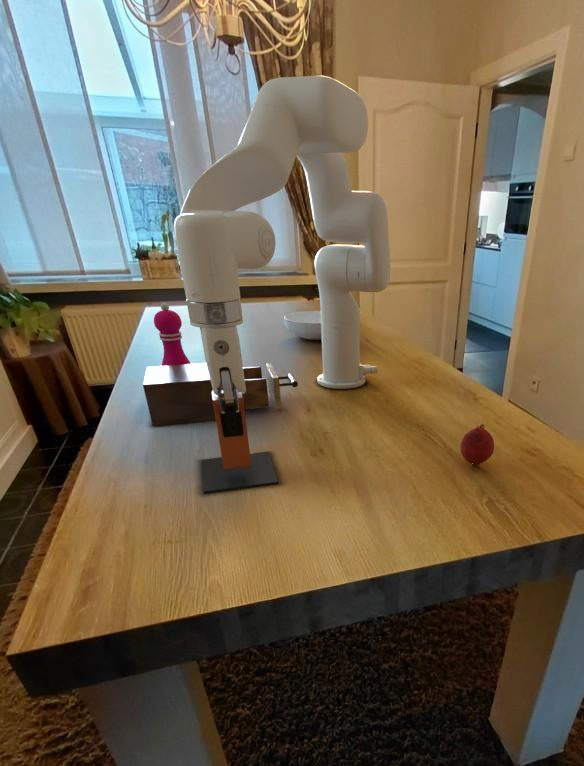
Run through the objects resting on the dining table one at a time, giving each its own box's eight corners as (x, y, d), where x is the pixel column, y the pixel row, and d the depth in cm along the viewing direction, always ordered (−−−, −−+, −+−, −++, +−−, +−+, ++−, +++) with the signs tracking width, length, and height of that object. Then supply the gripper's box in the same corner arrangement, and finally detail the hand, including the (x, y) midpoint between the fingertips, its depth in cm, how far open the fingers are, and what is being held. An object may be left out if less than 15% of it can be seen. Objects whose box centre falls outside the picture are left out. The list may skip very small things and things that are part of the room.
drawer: (292, 390, 120) (290, 361, 116) (301, 406, 110) (299, 376, 107) (215, 397, 115) (211, 367, 111) (218, 414, 106) (213, 383, 102)
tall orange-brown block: (249, 455, 87) (240, 388, 81) (251, 466, 83) (243, 397, 77) (222, 458, 86) (211, 391, 79) (223, 469, 82) (212, 400, 76)
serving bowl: (344, 345, 161) (344, 323, 158) (280, 344, 161) (279, 322, 158) (347, 331, 179) (347, 310, 175) (290, 330, 179) (288, 310, 175)
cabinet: (222, 399, 116) (216, 362, 112) (225, 419, 106) (219, 378, 101) (155, 405, 113) (146, 366, 108) (152, 426, 102) (142, 384, 98)
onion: (483, 476, 86) (490, 433, 81) (453, 467, 88) (458, 425, 84) (495, 463, 90) (502, 422, 86) (465, 455, 92) (471, 415, 88)
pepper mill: (186, 394, 119) (170, 306, 108) (159, 392, 120) (140, 304, 109) (201, 385, 125) (186, 300, 114) (175, 383, 126) (158, 299, 115)
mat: (268, 453, 92) (268, 451, 92) (278, 483, 82) (278, 481, 82) (202, 461, 89) (201, 459, 89) (203, 493, 79) (203, 491, 79)
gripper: (247, 323, 66) (261, 447, 76) (237, 301, 79) (250, 409, 89) (188, 325, 64) (211, 453, 74) (188, 303, 78) (207, 413, 87)
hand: (232, 428), depth 81 cm, fingers closed on tall orange-brown block, 4 cm apart
